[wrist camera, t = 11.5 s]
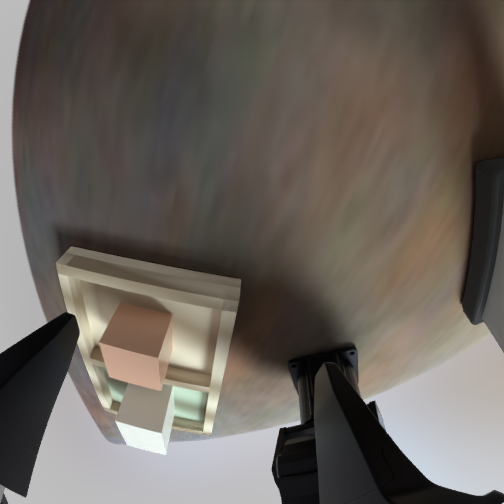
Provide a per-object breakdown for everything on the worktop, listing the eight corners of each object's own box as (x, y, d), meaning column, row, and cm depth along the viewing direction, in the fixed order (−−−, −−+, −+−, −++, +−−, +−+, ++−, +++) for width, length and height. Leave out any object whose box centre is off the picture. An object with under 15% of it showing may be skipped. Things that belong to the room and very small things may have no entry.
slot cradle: (212, 419, 33) (210, 435, 31) (109, 395, 32) (104, 410, 30) (241, 279, 21) (239, 301, 19) (71, 246, 20) (55, 262, 18)
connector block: (173, 382, 27) (161, 433, 21) (174, 412, 30) (166, 455, 25) (131, 372, 26) (115, 420, 21) (139, 403, 30) (127, 445, 25)
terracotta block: (172, 349, 24) (161, 391, 20) (125, 338, 24) (109, 377, 20) (172, 314, 22) (158, 357, 18) (120, 302, 22) (98, 342, 18)
